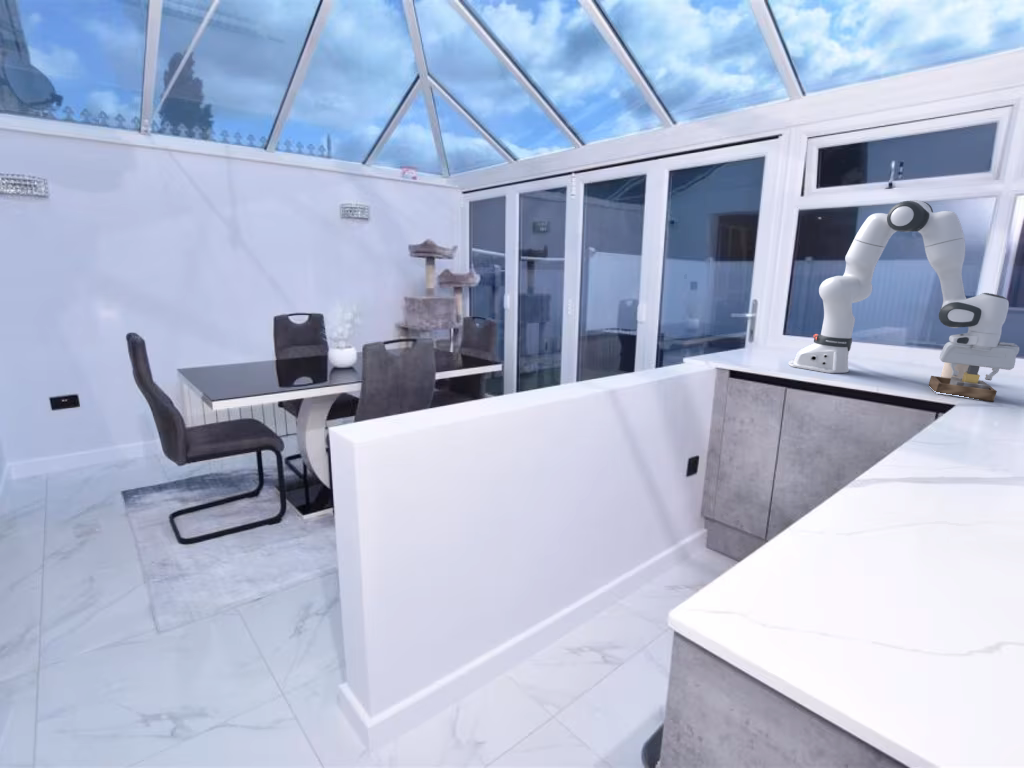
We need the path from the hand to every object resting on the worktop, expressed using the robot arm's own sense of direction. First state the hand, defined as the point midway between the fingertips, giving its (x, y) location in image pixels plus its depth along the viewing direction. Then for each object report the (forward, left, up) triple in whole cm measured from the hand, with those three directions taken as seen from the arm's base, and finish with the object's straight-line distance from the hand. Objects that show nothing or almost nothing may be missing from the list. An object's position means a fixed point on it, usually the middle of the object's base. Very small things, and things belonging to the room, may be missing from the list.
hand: (971, 377), depth 185 cm
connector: (0, 0, -6) cm, 6 cm away
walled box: (-2, 0, -6) cm, 7 cm away
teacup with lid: (+2, +30, -6) cm, 31 cm away
